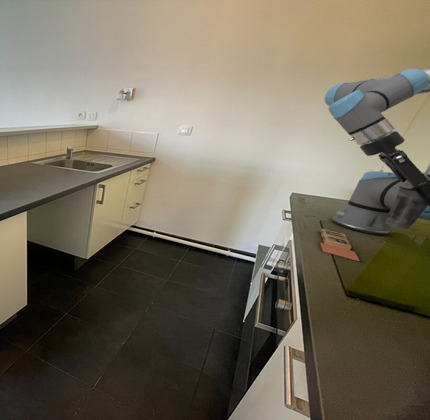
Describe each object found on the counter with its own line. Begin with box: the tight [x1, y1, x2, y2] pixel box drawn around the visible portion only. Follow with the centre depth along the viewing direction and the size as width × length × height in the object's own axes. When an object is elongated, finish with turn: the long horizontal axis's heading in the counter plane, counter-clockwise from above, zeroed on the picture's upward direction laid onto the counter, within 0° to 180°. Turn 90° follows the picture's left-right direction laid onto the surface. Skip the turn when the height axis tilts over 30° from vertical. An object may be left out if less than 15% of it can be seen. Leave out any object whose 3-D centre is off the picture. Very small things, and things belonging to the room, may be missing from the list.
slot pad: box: [319, 242, 360, 262], centre depth 80 cm, size 8×8×1 cm
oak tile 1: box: [319, 228, 349, 241], centre depth 89 cm, size 6×6×2 cm
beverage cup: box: [385, 163, 430, 230], centre depth 71 cm, size 7×7×20 cm
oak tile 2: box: [321, 235, 352, 250], centre depth 84 cm, size 6×6×2 cm
